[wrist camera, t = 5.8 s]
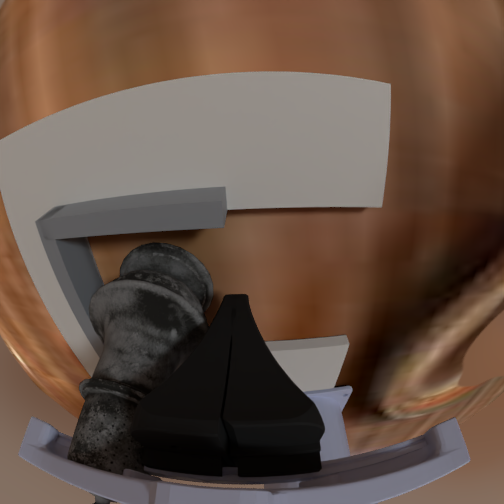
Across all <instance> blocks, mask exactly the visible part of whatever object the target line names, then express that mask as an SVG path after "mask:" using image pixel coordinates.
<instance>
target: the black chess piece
mask: <svg viewBox="0 0 504 504" xmlns="http://www.w3.org/2000/svg"><path fill="white" fill-rule="evenodd" d="M212 298H213V283H212V280H211V277H210V274H209V272H208V271H207V269H206V268H205V266H204V265H203V263H201V262H200V261H199V260H198V259H197V258H196V257H195V256H194V255H193V254H191V253H189V252H187V251H186V250H184V249H182V248H180V247H177V246H174V245H171V244H167V243H149V244H144V245H141V246H139V247H137V248H135V249H133V250H132V251H131V252H130V253H129V254H128V255H127V256H126V257H125V259H124V261H123V263H122V265H121V268H120V277H119V278H117V279H115V280H113V281H112V282H110V283H108V284H106V285H104V286H102V287H100V288H99V289H98V290H97V291H96V293H95V294H94V295H93V296H92V298H91V301H90V305H89V316H90V321H91V323H92V326H93V328H94V331H95V333H96V334H97V335H98V337H99V338H100V340H101V341H102V342H103V343H104V347H103V352H102V354H101V356H100V359H99V361H98V363H97V366H96V368H95V371H94V373H93V375H92V378H91V379H85V380H83V381H82V382H81V383H80V386H79V390H80V393H81V395H82V397H83V398H84V399H85V402H84V405H83V408H82V411H81V414H80V416H79V419H78V423H77V426H76V429H75V432H74V435H73V438H72V441H71V445H70V448H69V452H68V456H67V459H68V460H71V461H74V462H77V463H80V464H83V465H86V466H89V467H93V468H96V469H100V470H103V471H107V472H111V473H115V474H120V475H123V470H124V469H131V470H134V471H138V472H141V473H144V474H148V475H150V474H149V473H148V472H146V471H144V465H143V464H142V460H143V455H144V449H145V447H144V446H143V445H141V444H140V443H139V442H138V441H137V440H136V439H135V438H134V437H133V436H132V435H131V433H130V427H131V423H132V419H133V415H134V412H135V410H136V407H137V405H138V403H139V401H140V400H141V399H142V398H144V397H145V396H146V395H148V394H149V393H150V392H152V391H153V390H154V389H156V388H157V387H158V386H159V385H161V384H162V383H163V382H164V381H165V380H166V379H167V378H168V377H169V376H171V375H172V374H173V373H174V372H175V371H176V370H177V369H178V368H179V367H180V365H181V364H182V363H183V362H184V361H185V360H186V359H187V358H188V356H189V355H190V354H191V353H192V351H193V350H194V349H195V348H196V346H197V345H198V343H199V342H200V341H201V339H202V338H203V336H204V334H205V333H206V331H207V330H208V328H209V326H208V323H207V319H206V317H205V314H204V312H205V311H206V310H207V308H208V307H209V306H210V303H211V301H212ZM89 493H91V492H89ZM91 494H92V495H94V496H95V501H96V502H95V503H94V504H110V502H116V501H113V500H110V499H107V498H104V497H101V496H98V495H96V494H93V493H91Z"/></svg>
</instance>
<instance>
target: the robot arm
mask: <svg viewBox="0 0 504 504" xmlns="http://www.w3.org/2000/svg"><path fill="white" fill-rule="evenodd" d="M351 392H352V387H351V386H343V387H337V388H331V389H323V390H315V391H305V392H303V391H302V390H300V388H299V387H298V386H297V385H296V384H295V383H294V382H293V381H292V380H291V379H290V377H289V376H288V375H287V374H286V372H285V371H284V370H283V369H282V368H281V366H280V365H279V363H278V362H277V361H276V359H275V358H274V356H273V355H272V353H271V352H270V350H269V348H268V347H267V345H266V343H265V341H264V340H263V338H262V336H261V334H260V332H259V330H258V327H257V325H256V323H255V320H254V318H253V315H252V312H251V309H250V305H249V300H248V295H246V294H230V295H225V296H224V298H223V301H222V303H221V305H220V308H219V310H218V312H217V314H216V316H215V318H214V319H213V321H212V323H211V325H210V327H209V328H208V330H207V331H206V333H205V334H204V336H203V338H202V339H201V341H200V342H199V343H198V345H197V346H196V348H195V349H194V350H193V351H192V353H191V354H190V355H189V356H188V358H187V359H186V360H185V361H184V362H183V363H182V364H181V365H180V367H179V368H178V369H177V370H176V371H175V372H174V373H173V374H172V375H171V376H169V377H168V378H167V379H166V380H165V381H164V382H163V383H162V384H161V385H159V386H158V387H157V388H156V389H154V390H153V391H152V392H150V393H149V394H148V395H146V396H145V397H144V398H142V399H141V400H140V401H139V403H138V405H137V407H136V410H135V412H134V415H133V419H132V423H131V427H130V433H131V435H132V436H133V437H134V438H135V439H136V440H137V441H138V442H139V443H140V444H141V445H143V446H144V447H145V449H144V455H143V460H142V464H143V465H144V471H146V472H148V473H149V474H150V475H148V474H144V473H141V472H138V471H134V470H131V469H124V470H123V475H120V474H115V473H111V472H107V471H103V470H100V469H96V468H93V467H89V466H86V465H83V464H80V463H77V462H74V461H71V460H68V459H67V456H68V452H69V448H70V445H71V441H72V438H73V437H70V436H68V435H65V434H63V433H60V432H58V430H57V429H55V428H54V427H53V426H51V425H50V424H48V423H46V422H44V421H42V420H40V419H38V418H35V417H31V419H30V422H29V424H28V427H27V430H26V433H25V436H24V438H23V441H22V444H21V447H20V451H19V454H18V455H19V456H20V457H21V458H23V459H24V460H26V461H28V462H30V463H31V464H33V465H34V466H36V467H38V468H40V469H41V470H43V471H45V472H47V473H49V474H51V475H53V476H55V477H57V478H59V479H61V480H63V481H65V482H67V483H69V484H72V485H74V486H76V487H78V488H81V489H83V490H85V491H88V492H91V493H93V494H96V495H98V496H101V497H104V498H107V499H110V500H113V501H116V502H119V503H122V504H377V503H378V502H382V501H385V500H388V499H390V498H393V497H396V496H399V495H402V494H404V493H407V492H409V491H412V490H414V489H417V488H419V487H421V486H423V485H426V484H428V483H430V482H432V481H434V480H437V479H439V478H441V477H443V476H445V475H446V474H448V473H450V472H452V471H454V470H456V469H458V468H459V467H461V466H463V465H465V464H466V463H468V462H470V456H469V453H468V450H467V447H466V444H465V441H464V439H463V436H462V433H461V430H460V428H459V425H458V422H457V420H456V418H455V417H453V418H451V419H449V420H447V421H444V422H442V423H440V424H437V425H435V426H434V427H432V428H430V429H429V430H428V431H427V432H426V433H425V434H424V435H421V436H418V437H416V438H413V439H410V440H407V441H404V442H401V443H398V444H395V445H392V446H388V447H385V448H382V449H378V450H374V451H370V452H366V453H362V454H358V455H354V456H350V451H349V446H348V441H347V436H346V432H345V427H344V422H343V417H342V413H341V412H342V410H343V408H344V406H345V404H346V402H347V400H348V398H349V396H350V394H351ZM151 475H153V476H151ZM155 476H159V477H165V478H171V479H177V480H185V481H193V482H203V483H217V484H264V489H255V488H253V489H252V488H221V487H206V486H196V485H187V484H180V483H173V482H165V481H162V480H161V479H160V478H159V477H155Z"/></svg>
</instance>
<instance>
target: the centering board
mask: <svg viewBox="0 0 504 504" xmlns="http://www.w3.org/2000/svg"><path fill="white" fill-rule="evenodd" d="M390 107H391V84H388V83H383V82H378V81H373V80H367V79H361V78H354V77H347V76H339V75H329V74H318V73H303V72H239V73H224V74H213V75H204V76H195V77H188V78H181V79H175V80H169V81H163V82H158V83H153V84H148V85H144V86H139V87H135V88H131V89H127V90H123V91H119V92H116V93H112V94H109V95H105V96H102V97H99V98H96V99H92V100H89V101H86V102H84V103H81V104H78V105H75V106H72V107H70V108H67V109H64V110H62V111H59V112H57V113H55V114H52V115H50V116H47V117H45V118H43V119H41V120H38V121H36V122H34V123H32V124H30V125H28V126H26V127H24V128H22V129H20V130H18V131H16V132H14V133H12V134H10V135H8V136H7V137H5V138H3V139H1V140H0V190H1V194H2V198H3V202H4V205H5V209H6V212H7V215H8V219H9V222H10V225H11V228H12V231H13V234H14V236H15V239H16V242H17V245H18V247H19V250H20V252H21V255H22V257H23V260H24V262H25V264H26V267H27V269H28V271H29V274H30V276H31V278H32V280H33V282H34V284H35V286H36V288H37V290H38V292H39V294H40V296H41V298H42V300H43V302H44V304H45V306H46V308H47V310H48V311H49V313H50V315H51V317H52V319H53V320H54V322H55V324H56V325H57V327H58V329H59V330H60V332H61V334H62V335H63V337H64V338H65V340H66V342H67V343H68V345H69V346H70V348H71V349H72V351H73V352H74V354H75V355H76V357H77V358H78V359H79V361H80V362H81V364H82V365H83V366H84V368H85V369H86V371H87V372H88V373H89V375H90V376H91V377H92V375H93V373H94V371H95V368H96V366H97V363H98V361H99V359H100V356H101V354H102V352H103V347H104V343H103V342H102V341H101V340H100V338H99V337H98V335H97V334H96V333H95V331H94V328H93V326H92V323H91V321H90V316H89V305H90V301H91V298H92V296H93V295H94V294H95V293H96V291H97V290H98V289H99V288H100V287H102V286H104V284H103V281H102V278H101V276H100V273H99V270H98V268H97V265H96V262H95V259H94V256H93V253H92V251H91V247H90V244H89V241H88V238H87V237H88V236H100V235H113V234H126V233H140V232H155V231H171V230H189V229H207V228H224V225H225V219H226V214H227V210H233V209H257V208H290V207H382V202H383V195H384V188H385V179H386V170H387V160H388V148H389V133H390ZM265 343H266V345H267V347H268V348H269V350H270V352H271V353H272V355H273V356H274V358H275V359H276V361H277V362H278V363H279V365H280V366H281V368H282V369H283V370H284V371H285V372H286V374H287V375H288V376H289V377H290V379H291V380H292V381H293V382H294V383H295V384H296V385H297V386H298V387H299V388H300V390H302V391H303V392H305V391H315V390H323V389H331V388H334V386H335V383H336V381H337V378H338V375H339V373H340V370H341V367H342V364H343V361H344V359H345V356H346V353H347V350H348V347H349V342H348V339H347V336H346V335H342V336H333V337H323V338H313V339H300V340H286V341H267V342H265Z"/></svg>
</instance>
